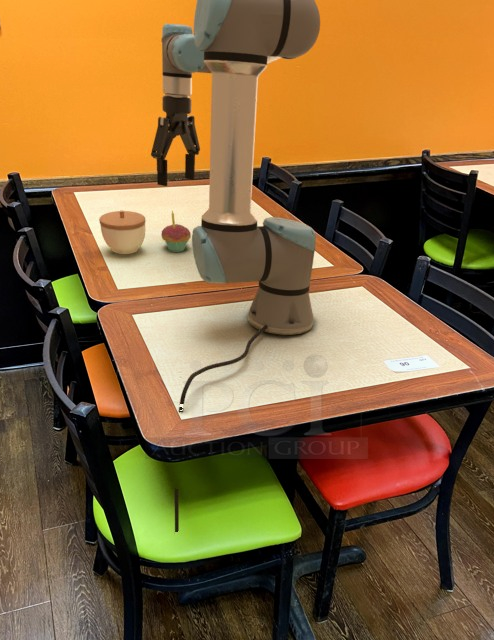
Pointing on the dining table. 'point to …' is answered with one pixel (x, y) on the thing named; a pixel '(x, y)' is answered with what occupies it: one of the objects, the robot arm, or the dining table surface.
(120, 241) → the lidded bowl
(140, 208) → the dining table surface
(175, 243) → the cupcake
